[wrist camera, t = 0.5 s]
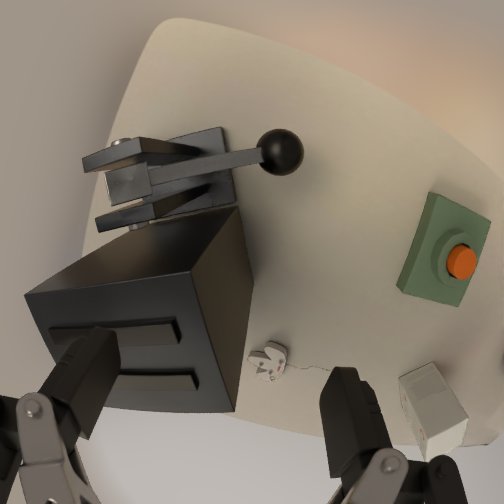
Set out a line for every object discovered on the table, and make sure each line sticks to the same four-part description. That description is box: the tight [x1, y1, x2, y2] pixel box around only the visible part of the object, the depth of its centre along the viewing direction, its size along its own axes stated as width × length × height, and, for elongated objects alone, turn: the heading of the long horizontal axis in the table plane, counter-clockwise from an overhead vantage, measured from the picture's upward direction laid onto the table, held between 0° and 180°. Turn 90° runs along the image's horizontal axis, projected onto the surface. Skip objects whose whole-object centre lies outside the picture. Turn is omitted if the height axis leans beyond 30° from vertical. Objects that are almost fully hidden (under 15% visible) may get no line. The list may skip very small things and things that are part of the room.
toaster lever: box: [104, 129, 304, 206], centre depth 19 cm, size 14×4×4 cm, turn 101°
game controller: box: [247, 342, 335, 382], centre depth 34 cm, size 6×12×3 cm, turn 95°
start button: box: [447, 245, 477, 280], centre depth 26 cm, size 4×4×2 cm
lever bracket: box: [82, 127, 237, 233], centre depth 23 cm, size 10×8×15 cm
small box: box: [399, 362, 469, 462], centre depth 31 cm, size 8×6×13 cm
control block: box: [396, 192, 491, 307], centre depth 28 cm, size 12×10×4 cm
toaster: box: [24, 206, 254, 413], centre depth 23 cm, size 12×9×19 cm
